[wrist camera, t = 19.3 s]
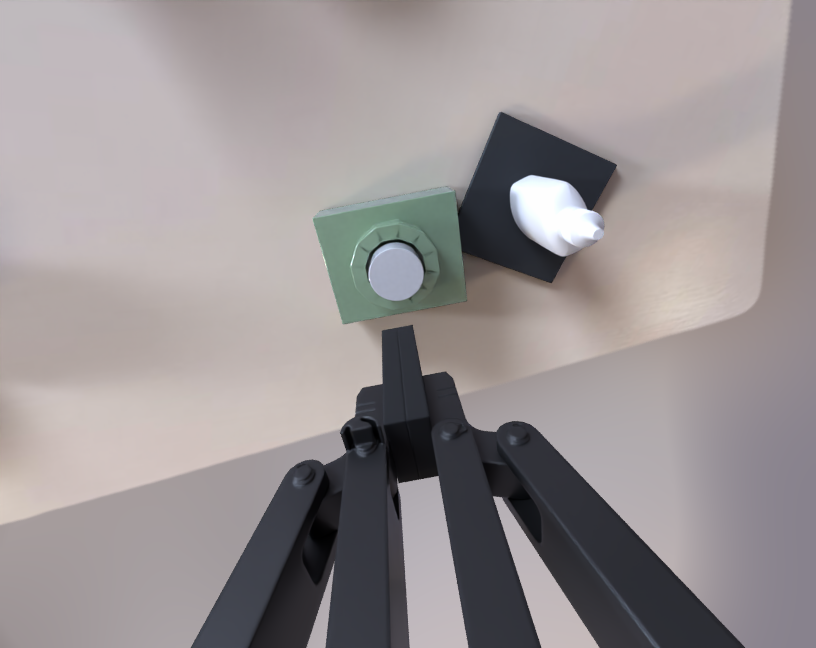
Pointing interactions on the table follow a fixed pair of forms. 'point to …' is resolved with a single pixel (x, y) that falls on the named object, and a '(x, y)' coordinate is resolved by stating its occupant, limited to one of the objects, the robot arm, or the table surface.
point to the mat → (490, 189)
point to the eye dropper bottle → (554, 215)
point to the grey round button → (395, 271)
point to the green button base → (384, 223)
